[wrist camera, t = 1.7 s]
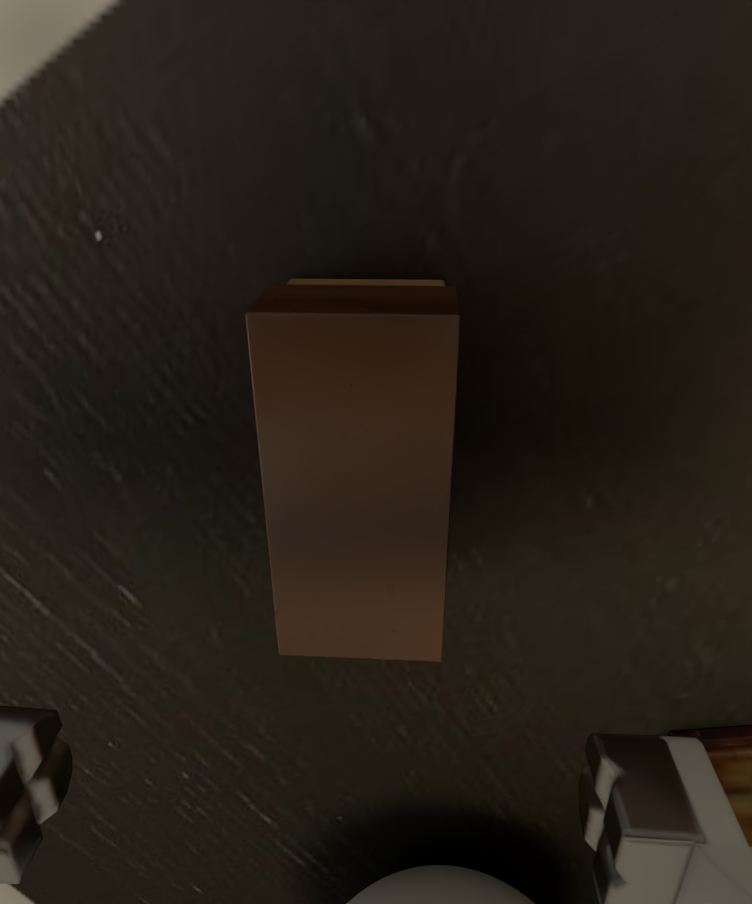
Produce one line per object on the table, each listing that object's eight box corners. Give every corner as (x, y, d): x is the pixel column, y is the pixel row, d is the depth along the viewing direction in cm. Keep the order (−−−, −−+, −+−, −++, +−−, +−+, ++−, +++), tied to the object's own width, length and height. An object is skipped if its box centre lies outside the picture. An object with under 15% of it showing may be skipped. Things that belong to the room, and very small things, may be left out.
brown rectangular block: (281, 269, 17) (243, 312, 13) (452, 271, 17) (461, 314, 13) (302, 564, 21) (278, 655, 18) (439, 569, 21) (442, 663, 18)
